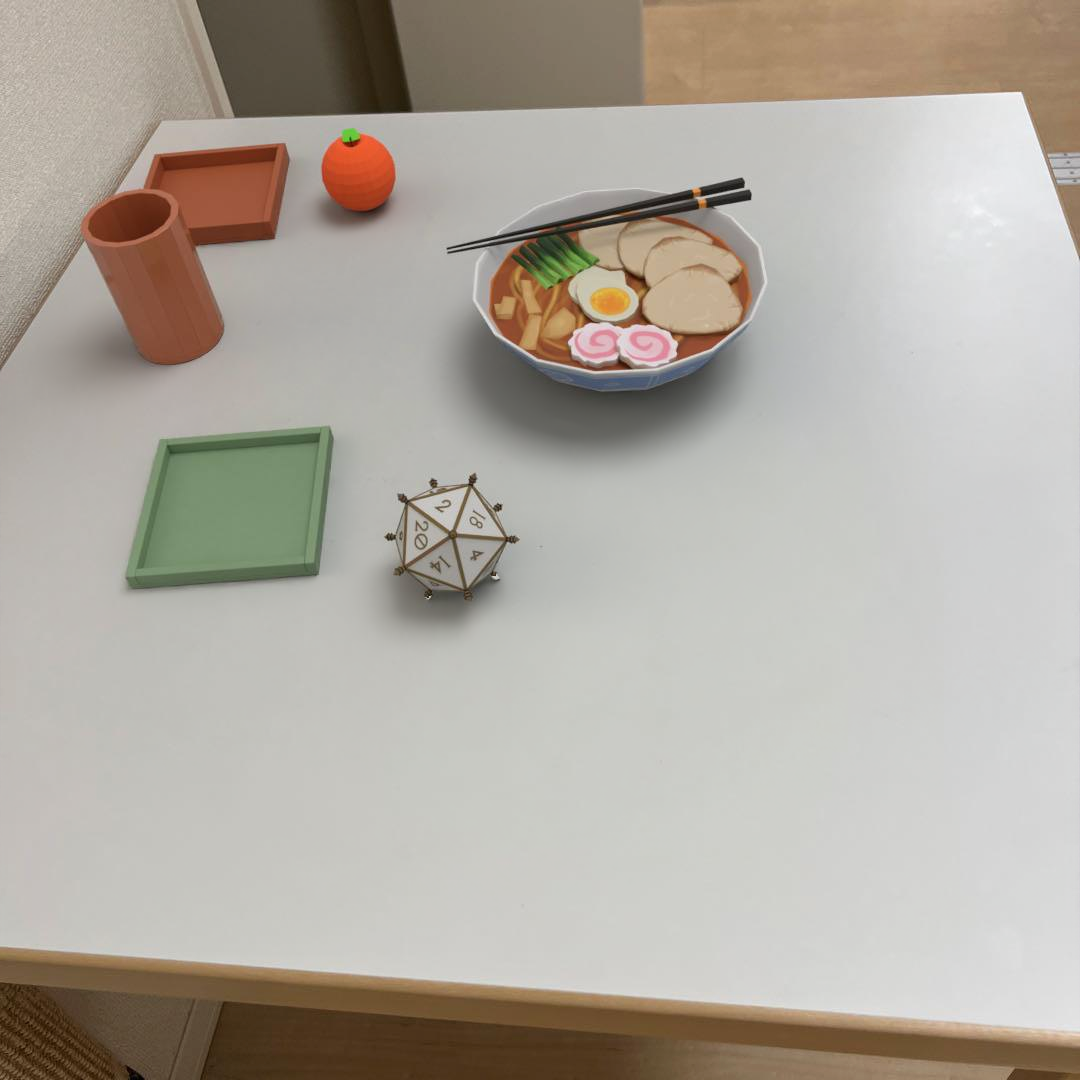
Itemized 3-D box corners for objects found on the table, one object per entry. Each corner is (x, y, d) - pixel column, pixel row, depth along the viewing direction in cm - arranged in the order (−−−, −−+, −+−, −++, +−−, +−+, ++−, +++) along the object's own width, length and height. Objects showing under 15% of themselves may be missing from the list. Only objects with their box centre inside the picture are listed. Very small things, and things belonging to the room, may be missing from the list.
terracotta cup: (122, 360, 91) (63, 242, 82) (160, 303, 96) (108, 185, 87) (202, 368, 90) (152, 250, 81) (237, 310, 94) (193, 191, 85)
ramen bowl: (494, 474, 80) (481, 395, 74) (450, 287, 94) (436, 207, 88) (814, 411, 82) (829, 328, 75) (723, 236, 96) (729, 155, 90)
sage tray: (131, 588, 76) (124, 577, 75) (165, 451, 84) (159, 439, 83) (318, 574, 75) (313, 562, 74) (333, 437, 84) (329, 425, 83)
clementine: (324, 186, 106) (306, 120, 100) (392, 172, 106) (379, 105, 101) (336, 232, 101) (318, 165, 95) (407, 216, 101) (394, 148, 96)
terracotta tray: (135, 250, 101) (127, 233, 100) (160, 170, 110) (154, 154, 108) (274, 238, 101) (269, 221, 99) (289, 159, 109) (285, 142, 108)
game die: (481, 620, 76) (492, 625, 66) (369, 579, 76) (362, 578, 66) (524, 504, 77) (541, 491, 67) (413, 462, 76) (413, 443, 66)
